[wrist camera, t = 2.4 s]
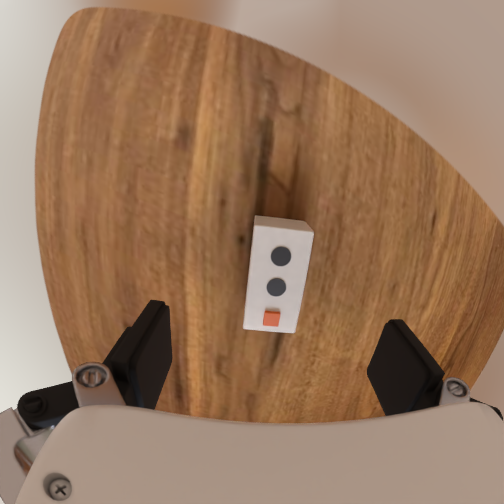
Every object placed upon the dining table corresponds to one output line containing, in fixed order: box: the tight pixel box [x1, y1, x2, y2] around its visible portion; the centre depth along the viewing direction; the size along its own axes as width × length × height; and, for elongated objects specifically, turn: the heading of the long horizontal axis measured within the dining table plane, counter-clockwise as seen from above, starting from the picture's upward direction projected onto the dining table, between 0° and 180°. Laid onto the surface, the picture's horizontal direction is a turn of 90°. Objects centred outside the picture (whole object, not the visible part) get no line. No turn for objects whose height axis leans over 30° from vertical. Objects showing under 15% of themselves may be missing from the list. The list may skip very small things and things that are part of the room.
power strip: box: [243, 215, 314, 333], centre depth 18 cm, size 4×7×3 cm, turn 174°
